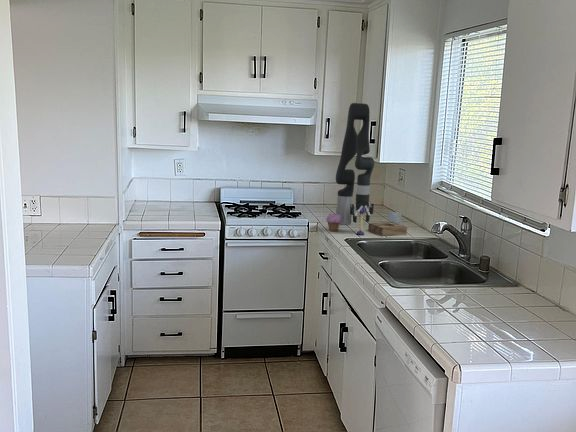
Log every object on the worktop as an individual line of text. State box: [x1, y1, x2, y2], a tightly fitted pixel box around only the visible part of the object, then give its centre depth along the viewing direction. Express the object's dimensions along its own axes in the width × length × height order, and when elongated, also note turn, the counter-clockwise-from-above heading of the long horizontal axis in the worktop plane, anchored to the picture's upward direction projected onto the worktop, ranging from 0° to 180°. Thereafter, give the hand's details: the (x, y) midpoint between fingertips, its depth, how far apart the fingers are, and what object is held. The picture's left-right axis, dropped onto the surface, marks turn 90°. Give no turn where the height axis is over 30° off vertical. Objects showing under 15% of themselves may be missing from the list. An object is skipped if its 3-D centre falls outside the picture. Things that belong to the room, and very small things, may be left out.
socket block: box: [368, 221, 408, 237], centre depth 336 cm, size 15×16×5 cm
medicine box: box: [387, 211, 403, 225], centre depth 353 cm, size 8×4×9 cm, turn 74°
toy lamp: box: [356, 206, 366, 236], centre depth 327 cm, size 5×5×17 cm
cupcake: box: [325, 212, 342, 232], centre depth 336 cm, size 9×9×10 cm
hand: (361, 222), depth 328 cm, fingers open, 7 cm apart
